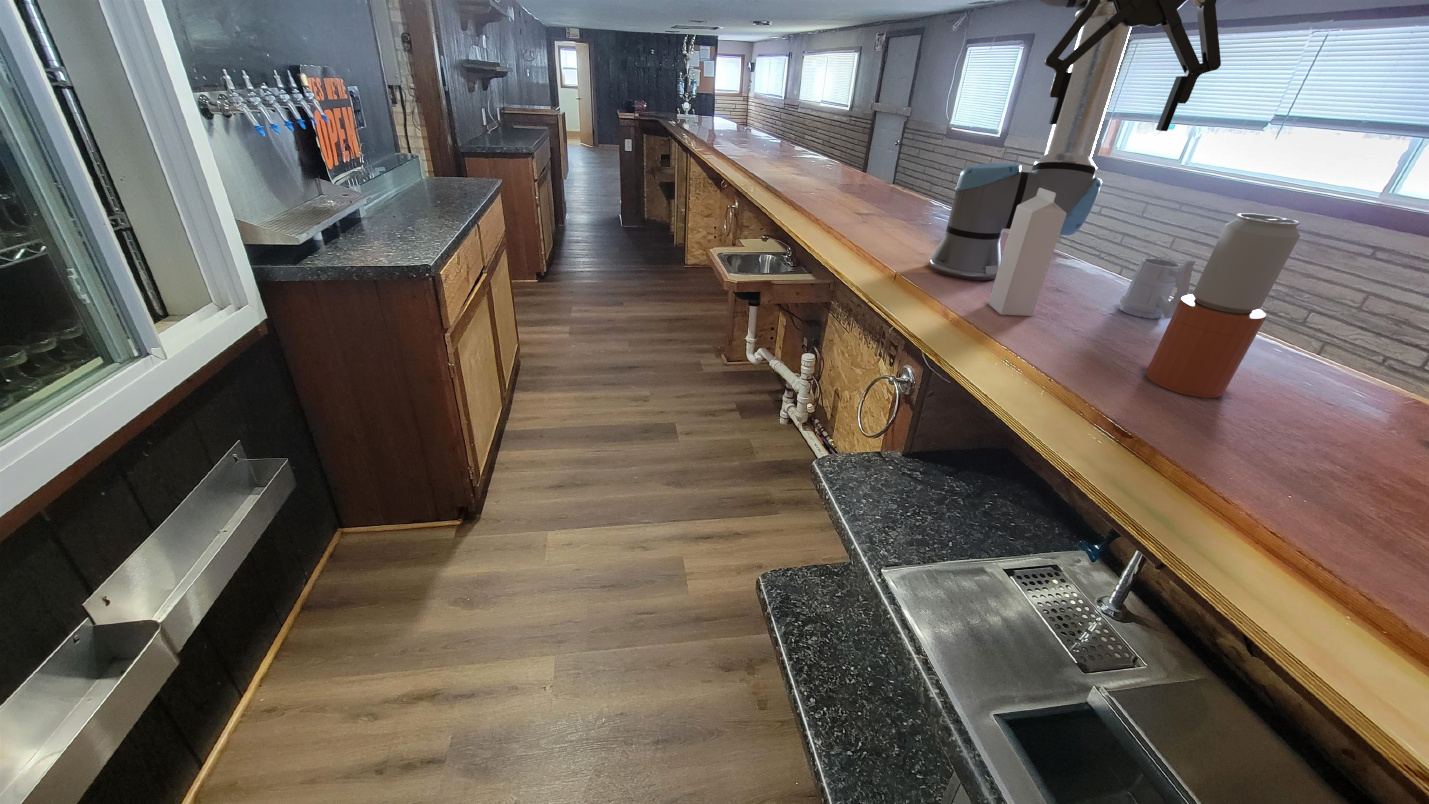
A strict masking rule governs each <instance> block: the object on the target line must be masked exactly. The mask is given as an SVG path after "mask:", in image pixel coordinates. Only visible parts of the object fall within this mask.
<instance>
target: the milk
mask: <svg viewBox="0 0 1429 804" xmlns="http://www.w3.org/2000/svg"><path fill="white" fill-rule="evenodd" d="M1055 197H1056V193H1055V192H1052V191H1049V190H1046V189H1043V188H1039V189H1038V192H1037V195H1036V196H1035V197H1033V198H1031V199H1029V200H1027V201H1025V202H1023V203H1021V204H1019V205H1017V208H1016V211H1015V215H1014V218H1013V221H1012V225H1011V228H1010V229H1009V231H1008V235H1007V239H1006V242H1005V246H1004V248H1003V252H1002V256H1001V262H1000V265H999V269H998V272H997V275H996V278H995V279H994V283H993V286H992V289H991V293H990V296H989V300H988V302H987V304H988V305H989V306H990V308H992V309H994V310H995V311H996V312H997V313H998V314H1000V315H1001V316H1024V317H1032V316H1033V314H1034V311H1035V307H1036V305H1037V302H1038V299H1039V296H1040V293H1041V291H1042V287H1043V284H1044V283H1045V278H1046V275H1047V273H1048V270H1049V267H1050V263H1051V261H1052V258H1053V255H1054V252H1055V249H1056V246H1057V243H1058V240H1059V238H1060V236H1061V235H1060V232H1061V229H1062V226H1063V223H1064V220H1065V217H1066V214H1067V213H1066V212H1065V211H1063V210H1062V209H1061V208H1060V207H1059V206H1057V205H1056V204H1055V203H1054V200H1055Z"/></svg>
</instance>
